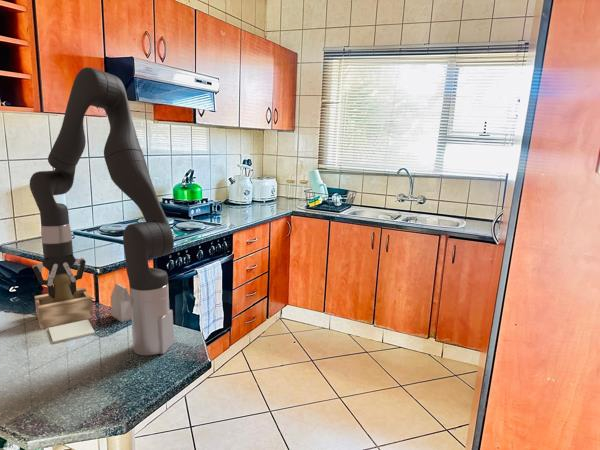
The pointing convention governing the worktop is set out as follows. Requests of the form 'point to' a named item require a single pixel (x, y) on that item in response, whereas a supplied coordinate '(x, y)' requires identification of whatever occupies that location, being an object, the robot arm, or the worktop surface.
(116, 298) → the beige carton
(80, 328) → the cream mat
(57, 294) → the cork
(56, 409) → the worktop surface
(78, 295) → the open rectangular wooden frame
